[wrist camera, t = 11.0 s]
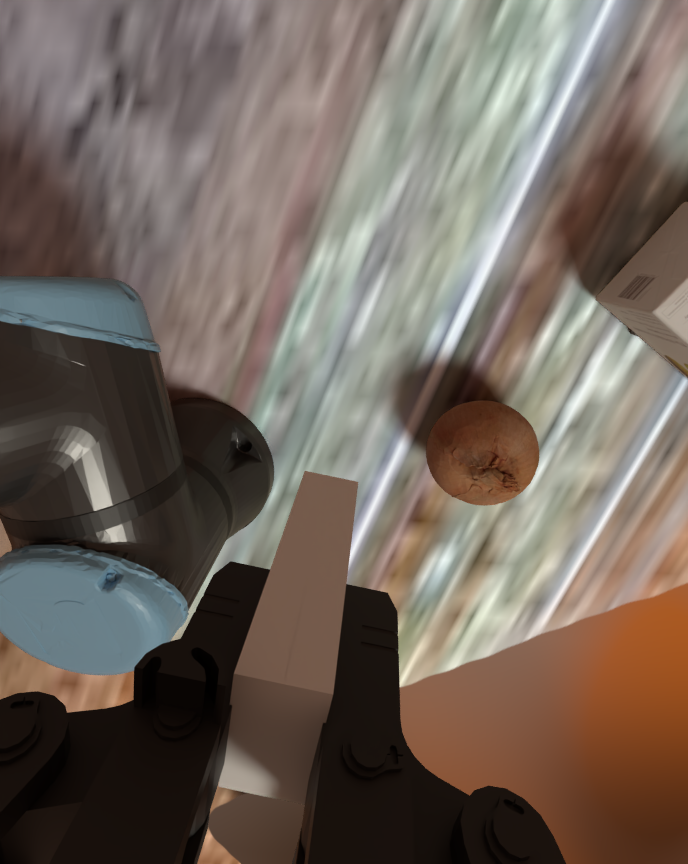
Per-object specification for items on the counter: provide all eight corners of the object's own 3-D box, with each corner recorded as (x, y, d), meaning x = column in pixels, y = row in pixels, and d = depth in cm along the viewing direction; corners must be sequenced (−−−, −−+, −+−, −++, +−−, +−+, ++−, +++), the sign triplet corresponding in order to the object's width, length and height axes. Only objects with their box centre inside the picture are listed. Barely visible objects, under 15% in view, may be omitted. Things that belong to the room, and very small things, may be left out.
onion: (541, 410, 45) (580, 455, 36) (490, 488, 48) (513, 548, 39) (452, 368, 44) (468, 403, 35) (406, 451, 48) (410, 502, 38)
